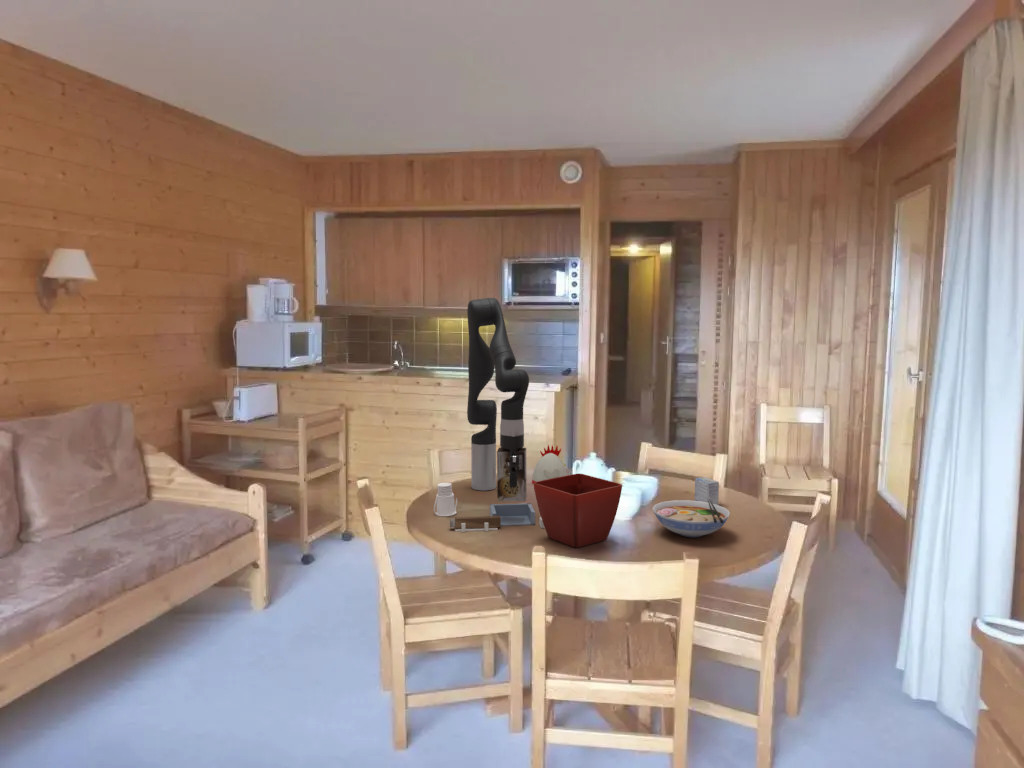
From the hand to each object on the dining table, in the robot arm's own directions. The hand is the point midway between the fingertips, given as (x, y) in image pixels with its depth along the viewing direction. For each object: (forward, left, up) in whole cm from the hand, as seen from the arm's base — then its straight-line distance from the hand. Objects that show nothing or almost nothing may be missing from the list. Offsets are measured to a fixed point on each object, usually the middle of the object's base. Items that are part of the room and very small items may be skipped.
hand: (511, 483), depth 233 cm
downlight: (-10, -21, -12) cm, 26 cm away
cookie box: (0, 0, -5) cm, 5 cm away
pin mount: (+7, -5, -12) cm, 15 cm away
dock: (0, 0, -12) cm, 12 cm away
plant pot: (+20, +17, -12) cm, 29 cm away
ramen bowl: (+19, +52, -12) cm, 57 cm away
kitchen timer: (-47, +20, -12) cm, 53 cm away
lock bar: (+7, -11, -12) cm, 18 cm away
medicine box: (-12, +69, -12) cm, 71 cm away
